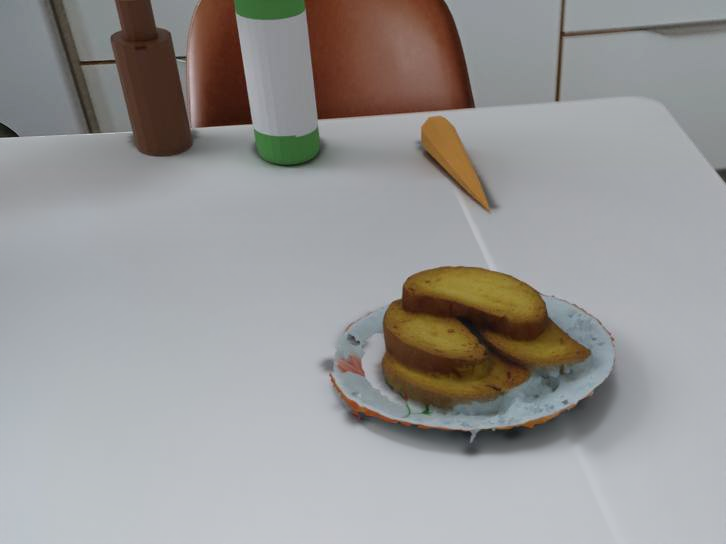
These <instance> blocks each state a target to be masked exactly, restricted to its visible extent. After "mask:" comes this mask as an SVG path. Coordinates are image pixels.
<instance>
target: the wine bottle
mask: <svg viewBox="0 0 726 544" xmlns="http://www.w3.org/2000/svg"><path fill="white" fill-rule="evenodd" d="M233 4H234V10H235V11H234V13H235V19H236V25H237V32H238V38H239V45H240V51H241V57H242V64H243V70H244V77H245V83H246V90H247V97H248V103H249V108H250V109H249V110H250V116H251V124H252V128H253V135H254V141H255V146H256V149H257V152H258V155H259V156H260V157H261V158H262V159H263V160H265V161H267V162H269V163H270V164H275V165H281V166H282V165H283V166H293V165H299V164H303V163H306V162H309V161H311V160H313V159H314V158H315V157H316V156H317V155H318V153H319V151H320V146H321V140H320V138H321V137H320V130H319V119H318V118H319V117H318V109H317V101H316V100H317V99H316V92H315V83H314V72H313V65H312V55H311V45H310V36H309V27H308V19H307V10H306V9H307V8H306V3H305V0H233Z"/></svg>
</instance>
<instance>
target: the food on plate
mask: <svg viewBox="0 0 726 544" xmlns="http://www.w3.org/2000/svg"><path fill="white" fill-rule="evenodd" d="M401 290H402V291H401V298H398V299H396V300H392V302H391V303H390V304H388V305H387V306H385V307H384V306H383V307H381V308H379V310H374V311H370V312H368V313H367V314H366V315H364V316H362V317H361V318H359V319H357V320H356V321H355V322H352V323H349V325H348V327H346V329H345V330H344V332H343V335H342V336H341V337H340V340H339V342H338V344H337V345H336V346H335V350H336V351H335V354H334V359H333V366H332V368H333V372H329V375H328V376H329V378H330V382H331V383H332V384H333V386H334V388H335V390H336V391H337V393H339V394H340V400H343V401H345V402H346V405H347V406H348V407H349V408H352V409H353V410H351V412H352V415H353V416H356V417H358V419H359V420H361V421H362V419H361V416H360V414H359V413H358V412H360V413H364V415H365V416H371V417H375V418H378V419H380V420H382V421H385V422H388V423H391V424H397V423H401V424H402V425H404V426H407V427H409V426H412V425H416V426H417V428H418V429H424V430H429V429H430V430H431V429H437V430H442V431H462V432H470V433H471V435H470V441H469V444H472V443H473V442H474V439H475V438H476V436H477V434H478V433H479V432H480V431H482V430H491V431H492V432H495V431H496V430H511V429H513V428H514V427H521V426H522V427H527V428H530V429H533V428H534V426H535V425H541V424H545V423H547V422H548V421H550V420H551V419H553V418H555V417H558V416H559V415H560V414H562V412H564V411H566V410H567V411H570V410H571V409H573V408H575V407H576V406H577V405H578V403H579V401H581V400H584V399H586V398H588V397H592V396H593V395H594V392H595V389H596V388H597V387H599V386H600V385H601V384H603V383H605V379H607V378H608V377H609V376H610V375H611V373H612V370H613V369H614V362H615V361H616V352H615V344H614V342H615V338H614V337H612V333H611V332H609V330H608V329H606V327H605V326H604V325H603V324H602V322H601V321H600V320H599V318H597V317H595V316H594V315H592V314H591V313H588V312H587V311H586V310H585V309H584V308H582V307H580V306H578V305H577V304H576V303H571V302H569V301H567V300H565V299H561V298H558V297H556V296H555V295H545V294H543V293H541V292H540V291H538V290H537V289H536V288H534V287H533V286H531V285H529V284H528V283H527V282H524V281H523V280H520V279H518V278H516V277H515V276H512V275H511V274H509V273H504V272H500V271H495V270H490V269H487V268H484V267H479V266H478V267H477V266H465V265H464V266H463V265H457V266H452V265H450V266H449V265H448V266H447V265H446V266H438V267H434V268H429V269H425V270H421V271H418V272H416V273H413V274H412V275H410V276H408V277H407V279H406V280H405V281H404V282H403V284H402V289H401ZM376 334H383V339H384V346H385V352H384V355H383V357H382V359H381V371H382V374H383V379H384V381H385V383H384V384H386V385H387V386H388V387H389V388H390V389H391V390H393V391H394V392H395V393H397V394H398V395H399V396H400V397H401V398H402V399H403V400H404V401H406V404H400V403H399V402H395V401H392V400H390V398H389V397H388V396H386V395H383V394H382V392H381V389H377V388H374V387H373V385H372V384H371V382H370V381H369V380H368V379H367V377H366V374H365V373H366V372H365V371H364V369H363V365H362V364H363V363H362V359H363V358H364V356H365V355H366V351H365V350H364V348H362V347H363V346H364V345H366V341H365V340H370V339H371V338H372V337H373V336H374V335H376ZM349 336H352V337H354V339H355V341H356V342H359V344H358V345H354V344H352V343H351V341H350V340H349V339H348V337H349Z"/></svg>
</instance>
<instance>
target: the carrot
mask: <svg viewBox="0 0 726 544" xmlns="http://www.w3.org/2000/svg"><path fill="white" fill-rule="evenodd" d="M420 140H421V146H422V148H424V149H425V151H427V153H429V155H431V157H432V158H433V159H435V161H436V162H437V163H438V164H439V165H440V166H441V167H442V168H443V169H444V170H446V172H447V173H448V174H449V175H450V176H451V177H452V178H453V179H454V180H455V181H456V182H457V183H458V184H459V185H460V186H461V188H462V189H464V190H465V191H466V192H467V193H468V194H469V195H470V196H471V197H473V198H474V199H475V201H477V202H478V203H479V204H481V206H483V207H484V208H485V209H486V210H488V211H489V212H490V213H492V211H491V208H490V205H489V203H488V200H487V197H486V195H485V192H484V189H483V186H482V183H481V181H480V179H479V176H478V175H477V172H476V170H475V168H474V166H473V164H472V161H471V160H470V159H471V158H470V157H469V155H468V153H467V150H466V148H465V147H464V144H463V142H462V139H461V138H460V135H459V134H458V132H457V129H456V128H455V126H454V125H453V124H452V123H451V122H450V121H449V120H448V119H447V118H446V117H444V116H442V115H435V116H429V117H427V118H426V120H425V121H424V123H423V124H422V125H421V127H420Z"/></svg>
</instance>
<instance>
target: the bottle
mask: <svg viewBox="0 0 726 544" xmlns="http://www.w3.org/2000/svg"><path fill="white" fill-rule="evenodd" d="M114 3H115V7H116V12H117V15H118V20H119V25H120V30H118V31H116V32H114V33H113V34H111V35H110V38H109V40H110V46H111V49H112V53H113V57H114V61H115V65H116V70H117V73H118V76H119V77H118V78H119V82H120V86H121V90H122V94H123V98H124V102H125V106H126V110H127V115H128V119H129V122H130V123H129V124H130V128H131V130H132V136H133V140H134V143H135V146H136V149H137V151H138V152H140V153H141V154H144V155H148V156H152V157H153V156H154V157H167V156H173V155H178V154H180V153H184V152H186V151H188V150H189V149H191V147H192V146H193V136H192V130H191V126H190V121H189V116H188V110H187V106H186V101H185V96H184V91H183V86H182V81H181V76H180V72H179V67H178V61H177V56H176V52H175V47H174V42H173V36H172V33H171V31H169V30H167V29H165V28H162V27H158V26H157V25H156V20H155V14H154V10H153V6H152V5H153V4H152V1H151V0H114Z"/></svg>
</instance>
